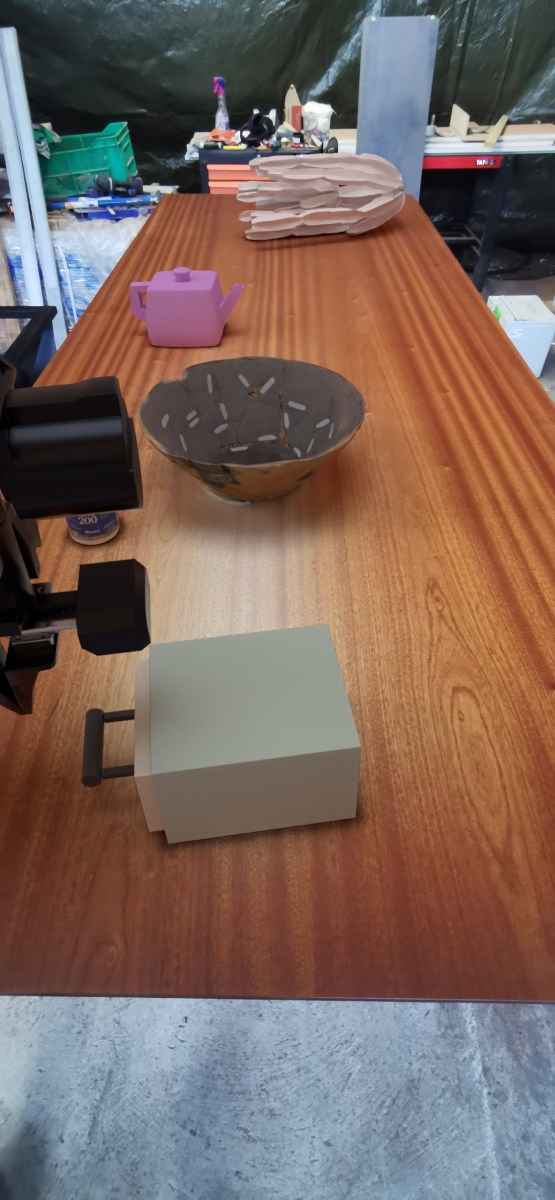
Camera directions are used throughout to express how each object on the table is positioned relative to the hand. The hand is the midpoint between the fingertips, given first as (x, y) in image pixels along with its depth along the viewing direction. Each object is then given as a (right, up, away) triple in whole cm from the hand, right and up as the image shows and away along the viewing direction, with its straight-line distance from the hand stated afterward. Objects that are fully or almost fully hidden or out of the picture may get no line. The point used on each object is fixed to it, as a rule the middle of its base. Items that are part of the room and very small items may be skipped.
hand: (27, 709), depth 50 cm
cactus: (+26, +84, +106) cm, 138 cm away
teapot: (+3, +50, +69) cm, 85 cm away
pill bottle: (-3, +15, +31) cm, 34 cm away
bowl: (+14, +21, +37) cm, 45 cm away
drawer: (+11, -5, +7) cm, 14 cm away
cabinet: (+15, -5, +8) cm, 18 cm away
